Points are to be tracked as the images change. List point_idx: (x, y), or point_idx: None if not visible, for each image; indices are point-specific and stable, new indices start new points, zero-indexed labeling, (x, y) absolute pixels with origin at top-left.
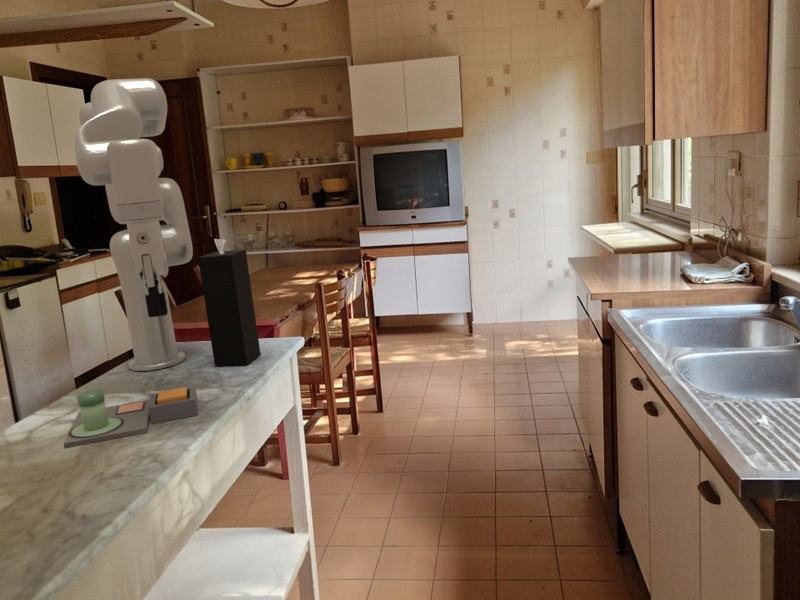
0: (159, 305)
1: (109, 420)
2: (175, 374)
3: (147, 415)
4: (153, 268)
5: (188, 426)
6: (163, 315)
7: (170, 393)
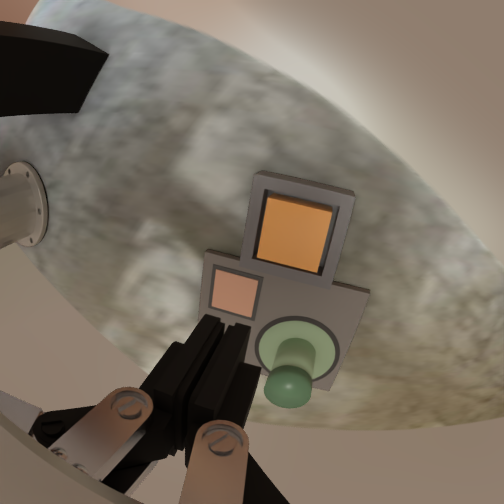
0: (253, 390)
1: (280, 334)
2: (77, 183)
3: None
4: None
5: (399, 223)
6: (248, 338)
7: (290, 239)
